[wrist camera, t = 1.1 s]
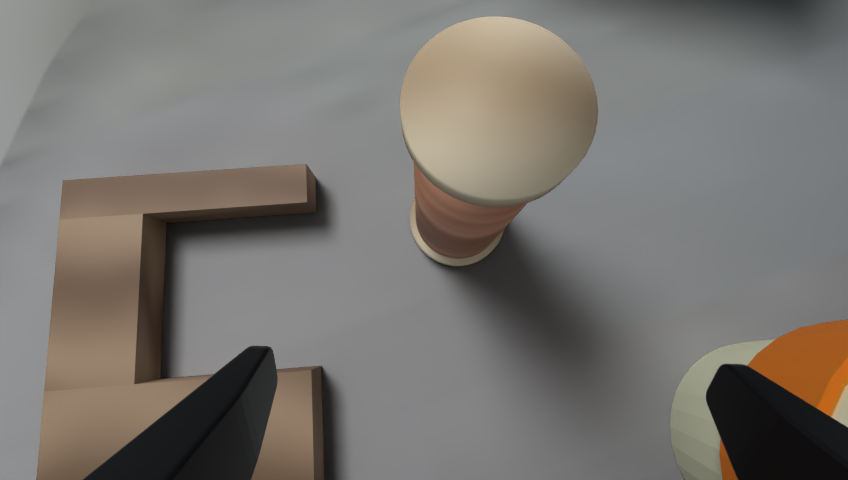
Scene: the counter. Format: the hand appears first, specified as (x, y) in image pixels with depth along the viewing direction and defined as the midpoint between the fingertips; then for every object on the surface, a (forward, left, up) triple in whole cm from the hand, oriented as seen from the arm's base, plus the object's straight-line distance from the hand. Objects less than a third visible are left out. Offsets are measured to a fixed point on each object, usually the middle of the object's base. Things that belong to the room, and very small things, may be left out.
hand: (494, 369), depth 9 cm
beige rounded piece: (+6, -1, -13) cm, 15 cm away
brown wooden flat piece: (-1, +13, -13) cm, 18 cm away
